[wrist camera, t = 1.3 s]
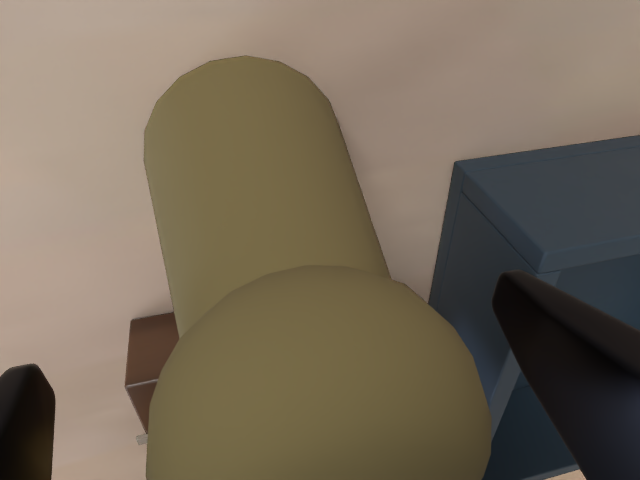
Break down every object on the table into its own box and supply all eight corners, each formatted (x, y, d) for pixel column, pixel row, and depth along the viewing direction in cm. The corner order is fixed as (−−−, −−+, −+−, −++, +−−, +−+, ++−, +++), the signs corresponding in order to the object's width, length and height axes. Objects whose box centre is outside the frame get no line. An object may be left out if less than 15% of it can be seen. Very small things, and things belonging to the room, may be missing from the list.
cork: (317, 26, 13) (606, 325, 4) (355, 201, 17) (547, 538, 8) (101, 96, 12) (-45, 564, 4) (192, 257, 16) (216, 667, 8)
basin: (643, 351, 29) (720, 429, 25) (408, 408, 26) (452, 506, 22) (799, 111, 19) (964, 174, 15) (453, 160, 17) (546, 253, 12)
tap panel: (341, 417, 25) (360, 475, 23) (176, 456, 23) (177, 523, 21) (346, 254, 18) (373, 314, 16) (111, 295, 16) (100, 368, 14)
